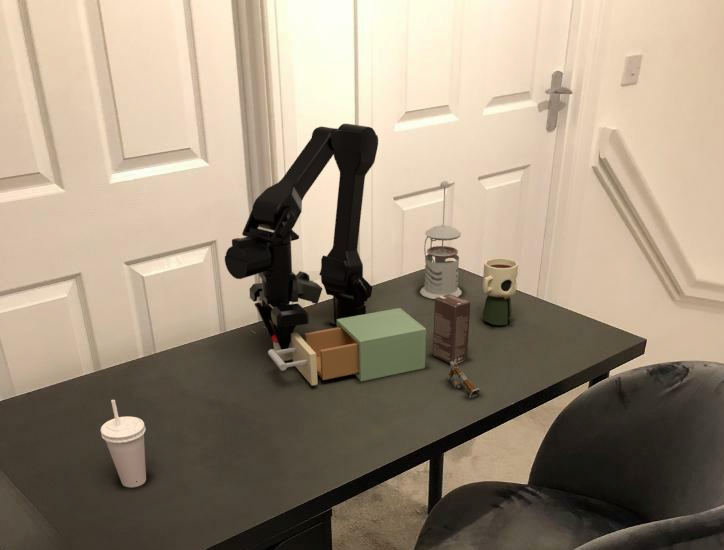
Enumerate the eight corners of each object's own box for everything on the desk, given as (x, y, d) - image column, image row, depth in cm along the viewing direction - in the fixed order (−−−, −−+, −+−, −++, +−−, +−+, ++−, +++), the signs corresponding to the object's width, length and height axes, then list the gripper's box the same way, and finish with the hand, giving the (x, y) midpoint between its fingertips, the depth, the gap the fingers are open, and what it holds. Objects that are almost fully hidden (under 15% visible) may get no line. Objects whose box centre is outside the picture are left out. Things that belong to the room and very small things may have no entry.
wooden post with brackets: (448, 374, 155) (456, 357, 151) (472, 404, 152) (480, 388, 148) (441, 376, 154) (448, 360, 151) (465, 407, 151) (473, 390, 147)
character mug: (495, 334, 173) (499, 273, 165) (468, 325, 177) (471, 265, 169) (524, 318, 179) (530, 260, 172) (498, 310, 183) (502, 253, 176)
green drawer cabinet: (360, 381, 155) (360, 341, 150) (338, 357, 163) (336, 319, 159) (425, 368, 159) (426, 329, 155) (399, 345, 168) (399, 307, 163)
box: (468, 359, 162) (471, 301, 156) (451, 365, 160) (454, 307, 153) (447, 349, 166) (450, 292, 159) (431, 355, 164) (432, 297, 157)
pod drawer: (284, 391, 150) (281, 359, 146) (266, 368, 157) (263, 338, 154) (373, 373, 156) (373, 342, 152) (352, 352, 163) (351, 322, 160)
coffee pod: (268, 356, 164) (266, 337, 162) (285, 348, 167) (284, 330, 165) (285, 363, 161) (283, 344, 159) (302, 355, 164) (301, 336, 162)
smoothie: (116, 470, 130) (98, 391, 122) (158, 468, 130) (142, 389, 122) (109, 493, 124) (89, 411, 116) (152, 491, 125) (135, 409, 117)
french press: (433, 302, 187) (436, 189, 173) (408, 286, 196) (410, 177, 182) (469, 295, 191) (476, 183, 177) (444, 279, 200) (448, 172, 185)
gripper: (334, 276, 149) (335, 357, 158) (300, 250, 164) (302, 325, 172) (276, 282, 145) (279, 365, 154) (246, 255, 160) (251, 332, 168)
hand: (279, 345), depth 162 cm, fingers open, 6 cm apart
